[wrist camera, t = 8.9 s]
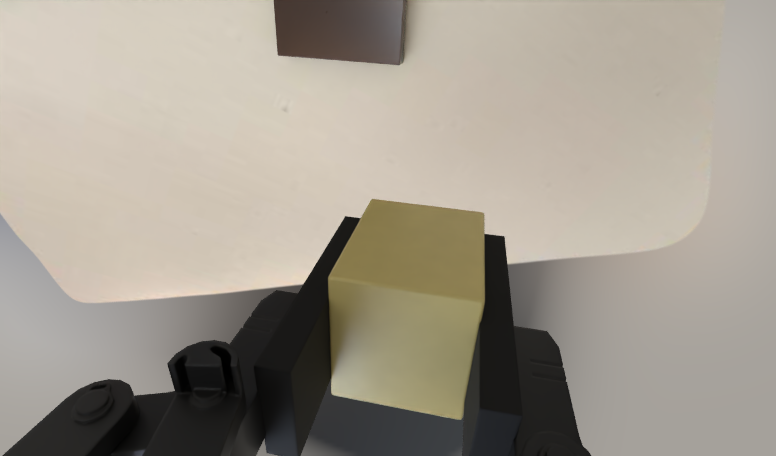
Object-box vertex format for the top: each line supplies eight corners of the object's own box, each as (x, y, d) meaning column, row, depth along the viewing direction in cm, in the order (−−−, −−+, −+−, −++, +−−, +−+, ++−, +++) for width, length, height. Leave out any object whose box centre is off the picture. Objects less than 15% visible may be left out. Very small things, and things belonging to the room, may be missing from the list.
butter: (467, 312, 15) (462, 421, 11) (368, 296, 16) (330, 395, 12) (484, 211, 13) (485, 301, 9) (371, 197, 14) (326, 276, 10)
